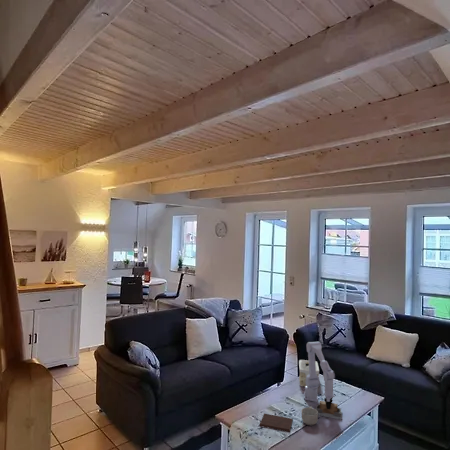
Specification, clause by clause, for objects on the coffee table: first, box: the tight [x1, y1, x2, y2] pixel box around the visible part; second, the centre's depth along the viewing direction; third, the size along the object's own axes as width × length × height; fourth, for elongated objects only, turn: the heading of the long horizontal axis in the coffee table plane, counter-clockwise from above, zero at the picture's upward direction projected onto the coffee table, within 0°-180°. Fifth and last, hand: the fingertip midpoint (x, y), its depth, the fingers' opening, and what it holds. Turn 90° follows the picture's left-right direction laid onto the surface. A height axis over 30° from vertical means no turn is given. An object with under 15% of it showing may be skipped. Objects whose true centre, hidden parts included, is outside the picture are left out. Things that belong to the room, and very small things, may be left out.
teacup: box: [300, 406, 319, 426], centre depth 234 cm, size 14×11×8 cm
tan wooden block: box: [319, 400, 339, 415], centre depth 246 cm, size 12×4×6 cm, turn 70°
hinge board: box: [315, 403, 343, 420], centre depth 246 cm, size 18×10×4 cm, turn 70°
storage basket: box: [298, 359, 320, 388], centre depth 298 cm, size 24×16×15 cm
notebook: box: [259, 413, 294, 433], centre depth 232 cm, size 15×20×2 cm
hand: (328, 407), depth 246 cm, fingers closed on tan wooden block, 4 cm apart
